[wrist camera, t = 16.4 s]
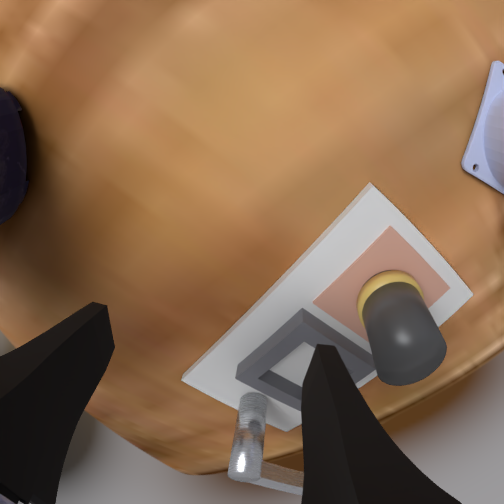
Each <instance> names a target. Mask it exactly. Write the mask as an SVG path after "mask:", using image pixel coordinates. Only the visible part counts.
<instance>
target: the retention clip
mask: <svg viewBox="0 0 504 504" xmlns="http://www.w3.org/2000/svg"><path fill="white" fill-rule="evenodd" d="M266 414H267V399H266V398H265V397H264V396H262V395H259V394H255V393H249V394H245V395H243V396H242V397H241V398H240V402H239V408H238V414H237V420H236V427H235V433H234V439H233V445H232V451H231V457H230V463H229V469H228V477H230V478H231V479H233V480H236V481H240V482H249V483H253V484H257V485H260V486H264V487H268V488H273V489H276V490H280V491H285V492H289V493H295V494H299V495H302V492H303V480H304V472H300V471H296V470H292V469H289V468H285V467H281V466H278V465H275V464H271V463H268V462H265V461H262V458H263V447H264V436H265V425H266Z"/></svg>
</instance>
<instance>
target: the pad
mask: <svg viewBox="0 0 504 504" xmlns="http://www.w3.org/2000/svg"><path fill="white" fill-rule="evenodd" d="M386 270H399V271H404V272H406V273H408V274H410V275H411V276H413V277H414V279H415V280H416V281H417V283H418V285H419V287H420V288H421V290H422V292H423V295H424V302H425V304H426V306H427V307H428V308H430V307H431V306H432V305H433V304H434V303H435V302H436V301H437V300H438V299H439V298H440V297H441V296H443V295H444V294H445V293H446V292H447V291H448V290H449V289H450V287H449V286H448V285H447V283H446V282H445V281H444V280H443V279H442V278H441V277H440V276H439V275H438V274H437V272H436V271H435V270H434V269H433V268H432V267H431V266H430V265H429V264H428V263H427V262H426V261H425V260H424V259H423V258H422V257H421V256H420V254H419V253H418V252H417V251H416V250H415V249H414V248H413V247H412V246H411V245H410V244H409V243H408V242H407V241H406V240H405V239H404V238H403V237H402V236H401V235H400V234H399V233H398V232H397V231H396V230H395V229H394V228H393V227H392V226H389V227H388V228H387V229H386V230H385V231H384V232H383V233H382V234H381V235H380V236H379V237H378V238H377V239H376V240H375V241H374V242H373V243H372V244H371V245H370V246H369V247H368V248H367V249H366V250H365V251H364V252H363V253H362V254H361V255H360V256H359V257H358V258H357V259H356V260H355V261H354V262H353V263H352V264H351V265H350V266H349V267H348V268H347V269H346V270H345V271H344V272H343V273H342V274H341V275H340V276H339V277H338V278H337V279H336V280H335V281H334V282H333V283H332V284H331V285H330V286H328V287H327V288H326V289H325V290H324V291H323V292H322V293H321V294H320V295H319V296H318V297H317V298H316V299H315V300H314V301H313V304H314V305H316V306H317V307H319V308H320V309H322V310H323V311H324V312H326V313H327V314H329V315H330V316H332V317H333V318H334V319H336V320H337V321H339V322H340V323H342V324H343V325H345V326H346V327H347V328H349V329H350V330H352V331H353V332H355V333H356V334H357V335H359V336H360V337H362V338H363V339H365V340H366V341H367V342H369V340H368V336H367V333H366V329H365V328H364V327H363V325H362V324H361V322H360V319H359V315H358V312H357V307H356V301H357V297H358V294H359V292H360V290H361V288H362V287H363V285H364V284H365V282H366V281H367V280H368V279H370V278H371V277H372V276H374V275H375V274H377V273H379V272H382V271H386Z"/></svg>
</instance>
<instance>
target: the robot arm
mask: <svg viewBox="0 0 504 504" xmlns="http://www.w3.org/2000/svg"><path fill="white" fill-rule="evenodd" d="M502 70H504V64H503V63H502V62H500V61H493V62H492V64H491V68H490V72H489V76H488V80H487V84H486V88H485V92H484V95H483V99H482V102H481V106H480V109H479V112H478V115H477V119H476V122H475V125H474V128H473V131H472V134H471V137H470V139H469V142H468V145H467V148H466V151H465V153H464V156H463V159H462V162H461V164H462V168H463V169H464V170H465V171H467V172H468V173H470V174H472V175H474V176H475V177H477V178H479V179H480V180H482V181H483V182H485V183H487V184H488V185H490V186H492V187H493V188H495V189H496V190H498V191H499V192H501V193H502V194H504V75H503V73H502ZM474 164H475V165H476V168H475V170H473V165H474ZM114 348H115V345H114V340H113V335H112V330H111V325H110V320H109V314H108V308H107V305H103V304H99V303H95V302H92V303H90V304H88V305H87V306H85V307H83V308H82V309H80V310H79V311H77V312H75V313H74V314H72V315H71V316H69V317H68V318H66V319H65V320H63V321H62V322H60V323H58V324H57V325H55V326H54V327H52V328H51V329H49V330H48V331H46V332H44V333H43V334H41V335H39V336H38V337H36V338H34V339H33V340H31V341H29V342H28V343H26V344H24V345H22V346H21V347H19V348H17V349H15V350H13V351H11V352H9V353H7V354H5V355H2V356H0V504H18V501H20V502H22V503H24V504H29V502H30V503H31V504H55V503H56V496H57V491H58V485H59V480H60V476H61V472H62V468H63V464H64V460H65V457H66V454H67V451H68V447H69V444H70V441H71V439H72V436H73V433H74V431H75V428H76V425H77V423H78V421H79V419H80V416H81V415H82V413H83V411H84V409H85V407H86V405H87V404H88V402H89V400H90V398H91V396H92V394H93V393H94V391H95V389H96V387H97V385H98V384H99V382H100V380H101V378H102V376H103V374H104V373H105V371H106V368H107V366H108V364H109V361H110V359H111V356H112V353H113V351H114ZM301 419H302V436H303V454H304V480H303V492H302V503H301V504H462V503H460V502H459V501H458V500H456V499H455V498H454V497H452V496H451V495H449V494H448V493H446V492H445V491H444V490H443V489H441V488H440V487H439V486H437V485H436V484H435V483H433V481H431V480H430V479H429V478H428V477H427V476H426V475H425V474H423V473H422V472H421V471H420V470H419V469H418V468H417V467H416V466H415V465H414V464H413V463H412V462H411V461H410V459H408V457H407V456H406V455H405V454H403V452H402V451H401V450H400V449H399V448H398V446H397V445H396V444H395V443H394V442H393V440H392V439H391V438H390V437H389V435H388V434H387V433H386V431H385V430H384V429H383V427H382V426H381V424H380V423H379V422H378V420H377V419H376V417H375V416H374V414H373V413H372V411H371V410H370V408H369V406H368V405H367V403H366V402H365V400H364V398H363V397H362V395H361V393H360V391H359V390H358V388H357V386H356V384H355V383H354V381H353V379H352V377H351V375H350V373H349V372H348V370H347V368H346V366H345V364H344V362H343V360H342V358H341V356H340V354H339V352H338V350H337V348H336V347H335V346H333V345H324V344H317V345H316V348H315V350H314V353H313V356H312V359H311V362H310V364H309V367H308V370H307V372H306V375H305V378H304V380H303V384H302V400H301Z"/></svg>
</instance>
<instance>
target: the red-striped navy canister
mask: <svg viewBox="0 0 504 504" xmlns="http://www.w3.org/2000/svg"><path fill="white" fill-rule="evenodd" d="M19 110H22V109H21V107H20V105H19V103H18V101H17V99H16V98H15V97H14V96H13V95H12V94H11V92H10V91H8V92H5V91H4V89H2V88H1V87H0V225H1V224H2V223H4V222H5V221H7V220H8V219H10V218H11V217H12V215H13V214H14V213H15V211H16V210H17V208H18V206H19V204H20V203H22V201H23V199H24V196H25V194H26V191H27V187H28V183H29V180H28V181H26V170H27V158H26V144H25V138H24V131H23V127H22V123H21V120H20V117H19V114H18V111H19Z"/></svg>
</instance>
